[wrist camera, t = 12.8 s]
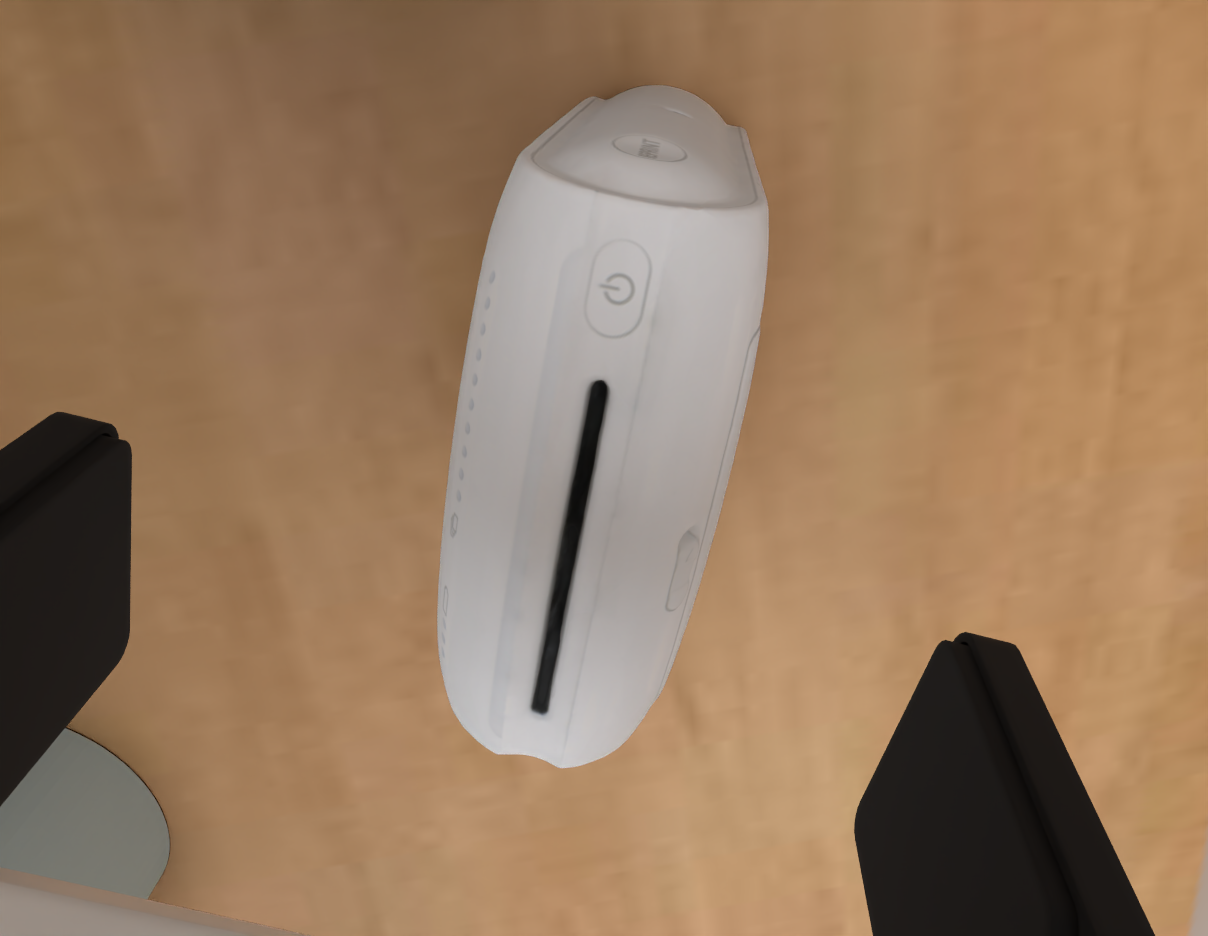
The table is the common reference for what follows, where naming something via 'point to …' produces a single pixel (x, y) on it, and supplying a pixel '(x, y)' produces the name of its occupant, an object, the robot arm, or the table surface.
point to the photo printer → (598, 419)
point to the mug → (85, 821)
